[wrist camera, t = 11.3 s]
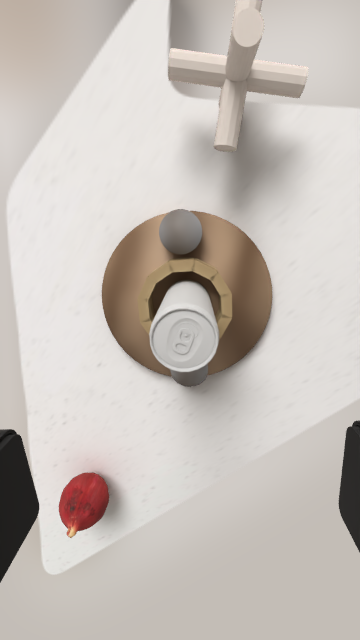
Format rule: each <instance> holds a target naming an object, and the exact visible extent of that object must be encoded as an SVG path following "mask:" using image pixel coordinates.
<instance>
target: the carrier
mask: <svg viewBox="0 0 360 640" xmlns="http://www.w3.org/2000/svg"><path fill="white" fill-rule="evenodd" d="M182 280H192V281H196V282H198V283H200V284H201V285H202V286H203V287H204V288H205V289H206V290H207V292H208V294H209V297H210V301H211V304H212V308H213V311H214V315H215V319H216V322H217V326H218V329H219V343H218V347H217V350H216V353H215V355H214V356H213V358H212V360H211V361H210V362H208V363H207V364H206V365H205V366H204V367H202V368H200V369H198V370H195V371H191V372H178V371H174V370H171V369H169V368H167V367H165V366H164V365H162V364H161V363H160V362H159V361H158V360H157V359H156V357H155V356H154V354H153V352H152V349H151V347H150V336H149V333H150V328H151V324H152V322H153V320H154V318H155V315H156V313H157V311H158V309H159V307H160V305H161V303H162V301H163V299H164V297H165V295H166V293H167V291H168V289H169V288H170V287H171V286H172V285H173V284H175V283H176V282H178V281H182ZM102 303H103V309H104V314H105V318H106V321H107V323H108V326H109V328H110V330H111V332H112V334H113V336H114V338H115V339H116V341H117V342H118V344H119V345H120V346H121V347H122V348H123V349H124V351H125V352H126V353H127V354H128V355H130V356H131V357H132V358H133V359H134V360H136V361H137V362H138V363H140V364H141V365H143V366H145V367H147V368H148V369H150V370H153V371H155V372H158V373H160V374H164V375H168V376H172V377H173V379H174V380H175V381H176V382H177V383H179V384H181V385H183V386H188V387H191V386H196V385H199V384H200V383H202V382H203V381H204V380H205V378H206V377H207V375H211V374H214V373H217V372H220V371H222V370H224V369H226V368H228V367H230V366H232V365H233V364H235V363H236V362H238V361H239V360H240V359H242V358H243V357H244V356H245V355H246V354H247V353H248V352H249V351H250V350H251V349H252V348H253V347H254V345H255V344H256V343H257V341H258V340H259V338H260V337H261V335H262V333H263V331H264V329H265V327H266V324H267V322H268V319H269V315H270V311H271V304H272V285H271V279H270V274H269V271H268V268H267V265H266V262H265V260H264V258H263V256H262V254H261V252H260V251H259V250H258V248H257V247H256V245H255V244H254V243H253V241H252V240H251V239H250V238H249V237H248V236H247V235H246V234H245V233H244V232H243V231H241V230H240V229H239V228H238V227H236V226H235V225H233V224H231V223H230V222H228V221H226V220H224V219H222V218H220V217H217V216H215V215H211V214H207V213H204V212H196V211H188V210H184V209H178V210H174V211H171V212H170V213H166V214H162V215H159V216H156V217H154V218H151V219H149V220H147V221H145V222H144V223H142V224H140V225H139V226H137V227H136V228H134V229H133V230H132V231H131V232H130V233H129V234H127V235H126V236H125V238H124V239H123V240H122V241H121V242H120V243H119V245H118V246H117V248H116V249H115V251H114V252H113V254H112V256H111V258H110V260H109V262H108V264H107V267H106V270H105V273H104V279H103V284H102Z"/></svg>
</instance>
